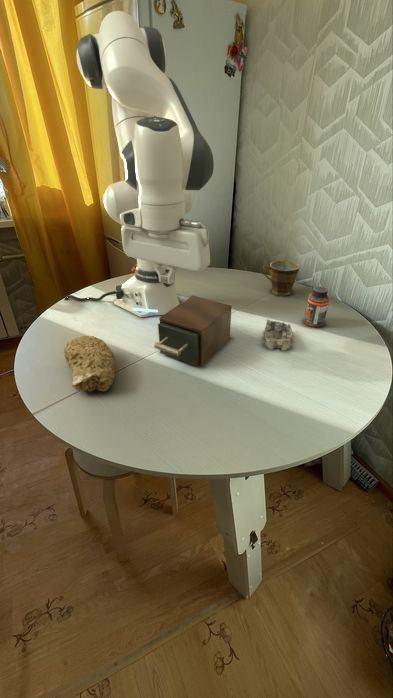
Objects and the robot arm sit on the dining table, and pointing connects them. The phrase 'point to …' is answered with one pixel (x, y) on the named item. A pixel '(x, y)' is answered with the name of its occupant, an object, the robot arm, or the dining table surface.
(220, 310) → the cabinet
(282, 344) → the egg carton
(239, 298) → the dining table surface
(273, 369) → the dining table surface
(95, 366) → the sponge
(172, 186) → the robot arm
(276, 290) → the ceramic cup
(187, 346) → the drawer
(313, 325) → the supplement bottle
